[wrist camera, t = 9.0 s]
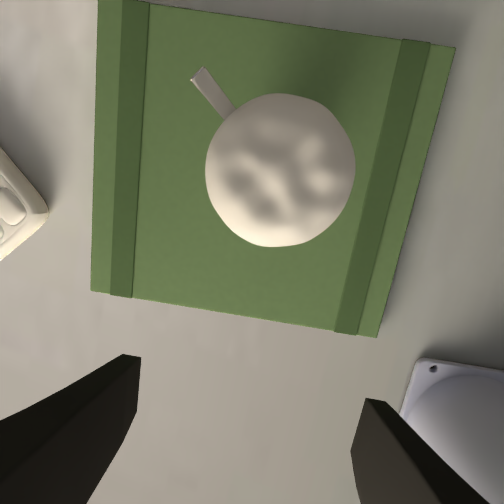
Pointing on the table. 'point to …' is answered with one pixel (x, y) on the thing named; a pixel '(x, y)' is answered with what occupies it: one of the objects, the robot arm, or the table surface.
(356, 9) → the table surface
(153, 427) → the table surface
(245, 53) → the towel
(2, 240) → the calculator
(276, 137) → the milkshake
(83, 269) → the table surface
